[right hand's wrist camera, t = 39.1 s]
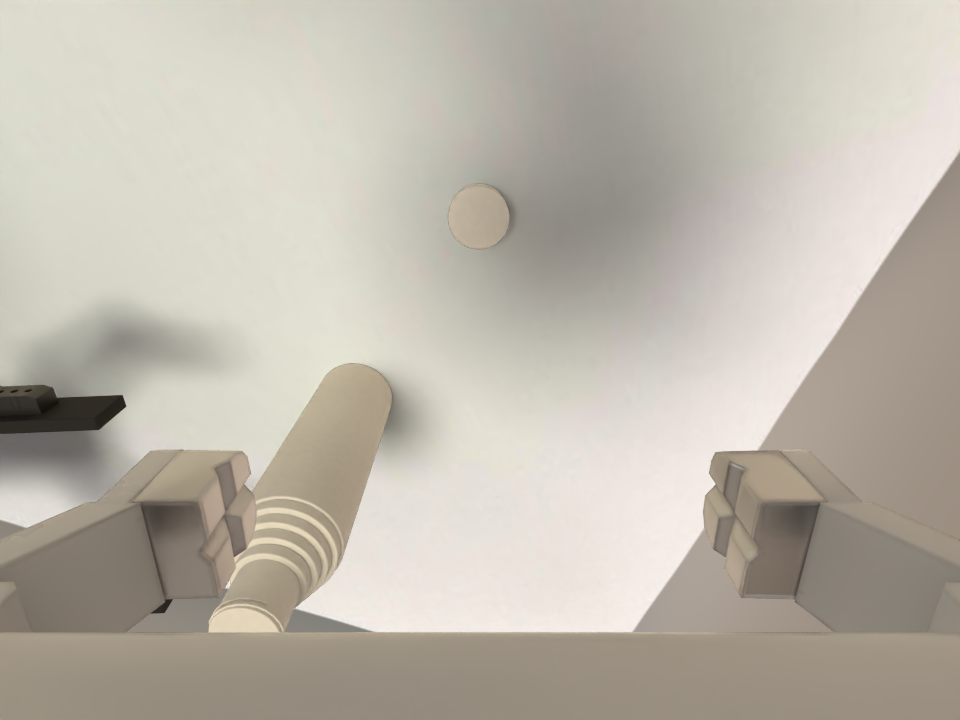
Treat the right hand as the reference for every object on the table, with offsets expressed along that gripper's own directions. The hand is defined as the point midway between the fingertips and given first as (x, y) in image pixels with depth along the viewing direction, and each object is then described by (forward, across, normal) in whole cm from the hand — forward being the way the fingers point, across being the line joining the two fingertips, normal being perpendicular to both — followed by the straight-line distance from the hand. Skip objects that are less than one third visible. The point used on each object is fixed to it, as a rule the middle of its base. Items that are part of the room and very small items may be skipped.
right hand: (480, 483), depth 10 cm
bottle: (+35, +10, +15) cm, 39 cm away
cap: (+33, 0, 0) cm, 33 cm away
